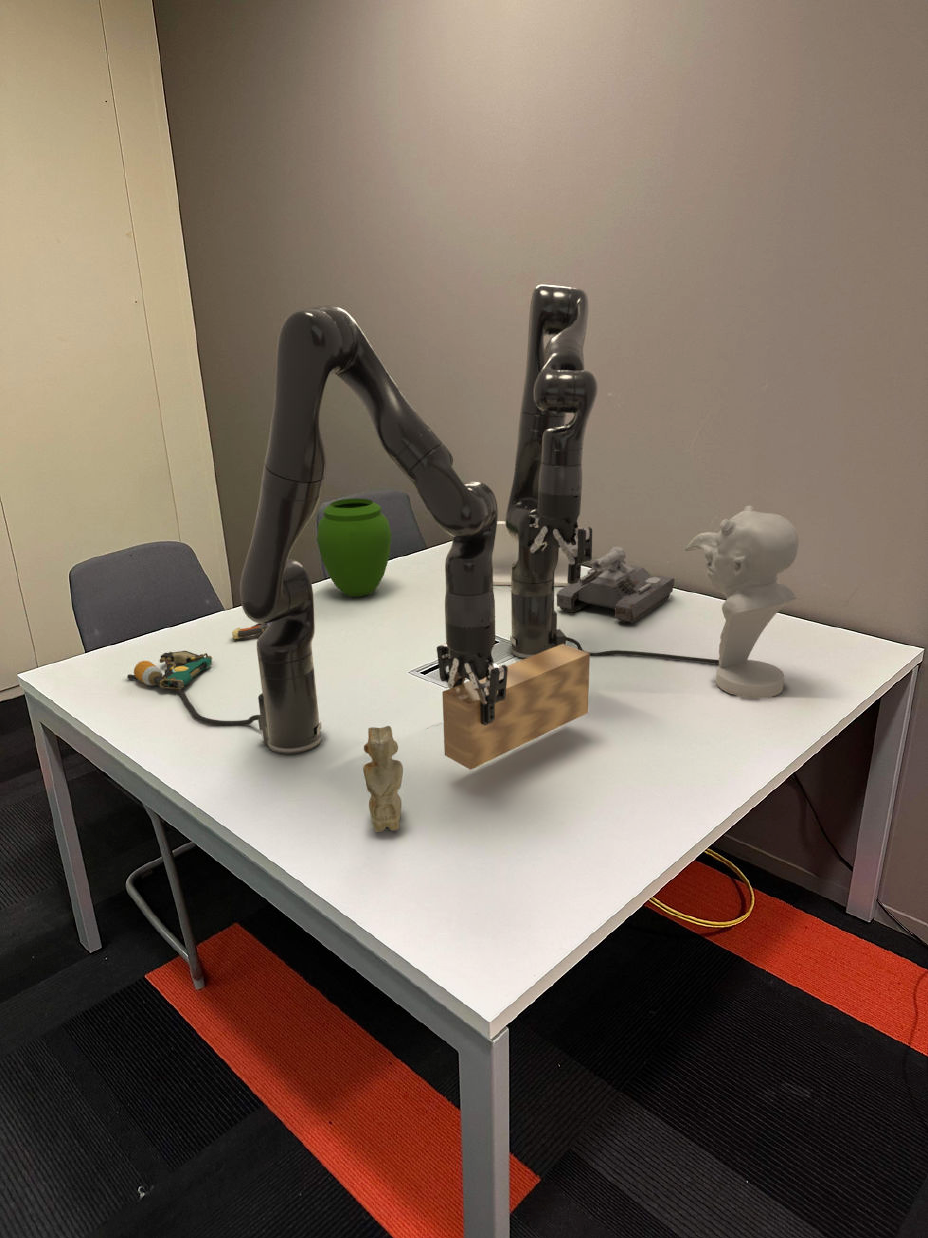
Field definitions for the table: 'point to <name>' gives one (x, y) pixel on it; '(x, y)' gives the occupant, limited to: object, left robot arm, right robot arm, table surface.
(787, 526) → the bust sculpture
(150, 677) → the spray gun
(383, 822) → the sculpture
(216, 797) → the table surface
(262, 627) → the toy gun
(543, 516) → the right robot arm
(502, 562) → the tablet stand
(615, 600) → the toy
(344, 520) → the vase
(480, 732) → the box
